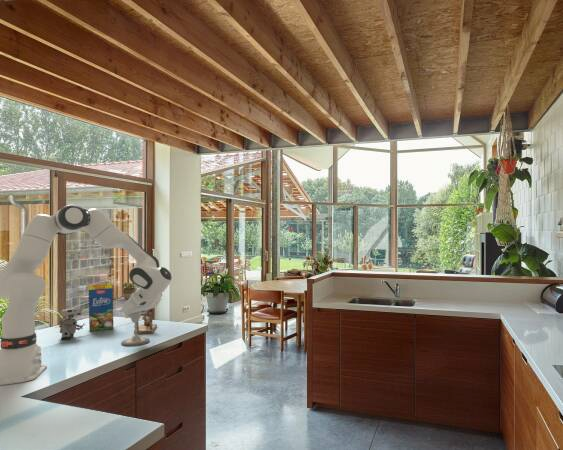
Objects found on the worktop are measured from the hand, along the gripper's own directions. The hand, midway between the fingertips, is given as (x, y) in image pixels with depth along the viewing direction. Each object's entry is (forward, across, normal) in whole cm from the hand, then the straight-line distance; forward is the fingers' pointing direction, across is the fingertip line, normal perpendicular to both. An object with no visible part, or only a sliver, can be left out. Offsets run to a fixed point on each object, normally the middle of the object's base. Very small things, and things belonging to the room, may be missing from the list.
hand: (133, 315), depth 209 cm
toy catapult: (+19, -21, 0) cm, 28 cm away
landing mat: (+9, 0, +10) cm, 13 cm away
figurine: (+37, +5, -18) cm, 41 cm away
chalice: (+8, 0, +9) cm, 13 cm away
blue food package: (+38, -14, -18) cm, 44 cm away
